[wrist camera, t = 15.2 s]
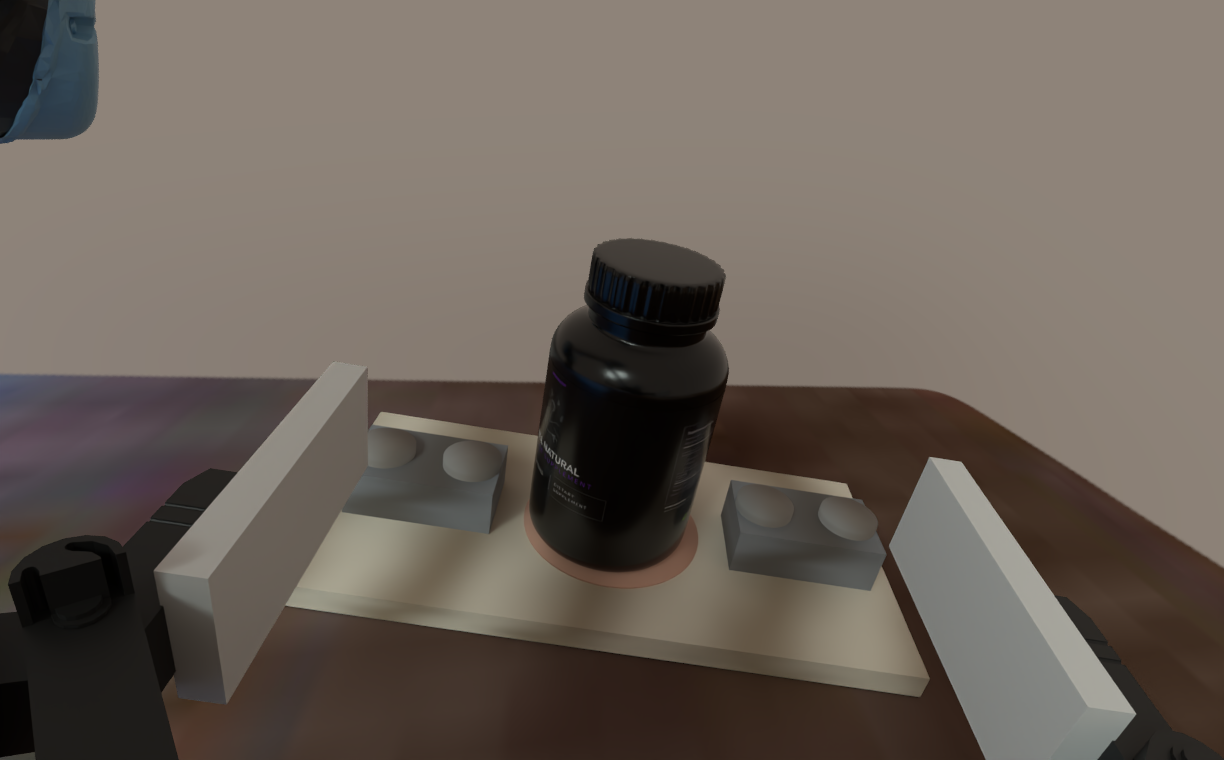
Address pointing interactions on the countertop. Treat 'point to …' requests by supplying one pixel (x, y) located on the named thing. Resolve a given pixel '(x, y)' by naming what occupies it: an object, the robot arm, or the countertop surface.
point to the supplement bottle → (629, 407)
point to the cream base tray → (608, 601)
